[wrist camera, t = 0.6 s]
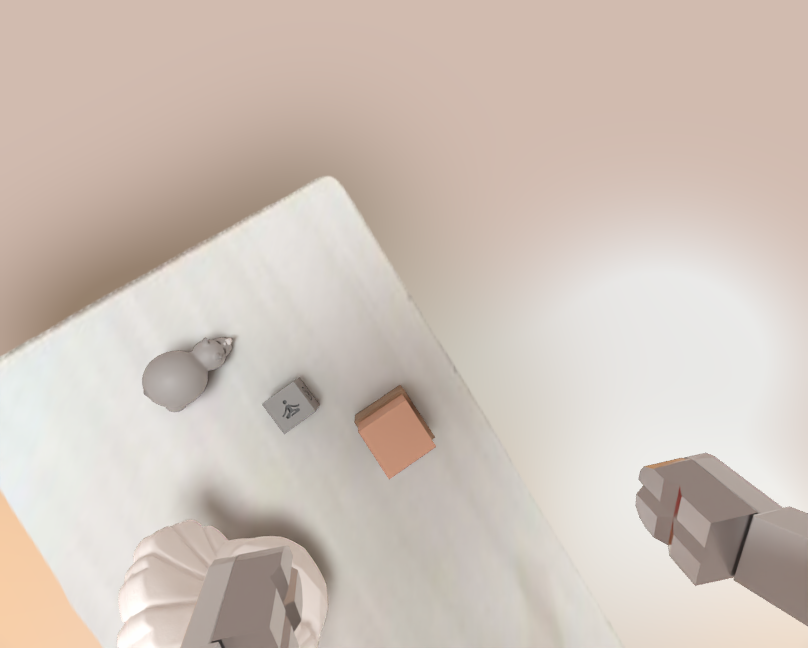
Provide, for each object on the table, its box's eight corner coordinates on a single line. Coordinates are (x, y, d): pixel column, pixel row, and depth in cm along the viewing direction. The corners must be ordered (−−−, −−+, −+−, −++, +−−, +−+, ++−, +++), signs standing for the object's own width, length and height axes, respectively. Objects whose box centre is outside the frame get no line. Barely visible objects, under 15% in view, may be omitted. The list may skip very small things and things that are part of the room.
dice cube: (291, 425, 55) (284, 434, 50) (270, 398, 55) (261, 404, 50) (319, 404, 55) (315, 411, 50) (299, 377, 55) (293, 381, 50)
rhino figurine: (248, 365, 57) (250, 354, 50) (173, 421, 51) (163, 418, 44) (217, 329, 57) (214, 312, 49) (137, 381, 51) (120, 371, 43)
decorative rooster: (348, 609, 54) (335, 831, 30) (244, 666, 53) (139, 953, 28) (274, 452, 54) (200, 546, 30) (168, 504, 53) (-5, 650, 28)
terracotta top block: (429, 436, 52) (436, 446, 47) (386, 465, 51) (389, 479, 46) (401, 393, 52) (406, 399, 47) (358, 422, 51) (358, 431, 46)
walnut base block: (428, 428, 57) (435, 437, 52) (384, 459, 56) (386, 471, 51) (400, 384, 57) (403, 388, 52) (355, 414, 56) (354, 422, 51)
